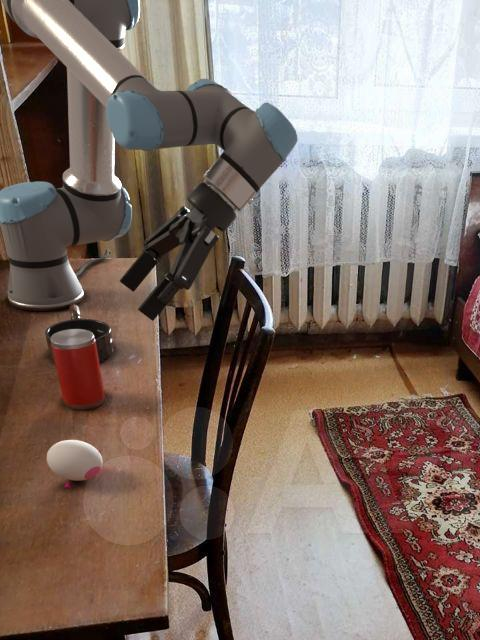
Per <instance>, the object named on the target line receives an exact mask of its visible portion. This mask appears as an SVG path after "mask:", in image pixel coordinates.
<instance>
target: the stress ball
mask: <svg viewBox="0 0 480 640" xmlns="http://www.w3.org/2000/svg"><path fill="white" fill-rule="evenodd" d="M100 452H101V450H98V449H97V448H96V447H94V446H93V445H92V444H90V443H88V442H86V441H82V440H80V439H79V440H78V439H65V440H61V441H57V442H56V443H54V444H53V445H52V446H51V447H50V448H49V449H48V450H47V453H46V462H47V465H48V468H50V469H51V470H50V471H52V472H53V473H54V474H56V475H57V476H59V477H61V478H63V479H65V480H68V481H67V482H66V484H65V485H64V486H63V487H64V488H68V489H69V488H70V489H72V487H71V485H70V481H79V482H80V481H87V480H90V479H92V478H93V477H96V476H97V475H98V474H99V473H100V472H101V470H102V468H103V465H104V464H103V463H104V462H103V461H104V460H103V457H102V455H101V453H100Z"/></svg>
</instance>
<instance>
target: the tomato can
mask: <svg viewBox="0 0 480 640" xmlns="http://www.w3.org/2000/svg"><path fill="white" fill-rule="evenodd" d="M51 347H52V351H53V356H54V361H53V362H54V364H55V369H56V374H57V378H58V382H59V387H60V392H61V397H62V400H63V403H64V405H65V406H66V407H67V408H69V409H71V410H76V411H77V410H79V411H85V410H91V409H94V408H97V407H99V406H101V405H102V404H104V402H105V400H106V396H105V394H106V393H105V388H104V382H103V376H102V371H101V370H102V369H101V366H100V365H101V364H100V362H99V359H98V353H97V347H96V342H95V339H94V335H93V333H92V332H90V331H87V330H83V329H69V330H63V331H60V332H57V333H55V334H53V335H52V336H51Z"/></svg>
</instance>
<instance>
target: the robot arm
mask: <svg viewBox="0 0 480 640" xmlns="http://www.w3.org/2000/svg"><path fill="white" fill-rule="evenodd" d="M0 2H1V3H2V6H3V8H4V10H5V11H6V13H7V14H8V15H9V18H11V19H12V21H13V22H14V23H15V24H16V25H17V27H19V28H20V29H21V30H22V31H23V32H24V33H25V34H27V36H30V37H32V38H35V39H39V40H40V41H41V42H42V43H43V44H44V45H45V46H46V47H47V49H49V50H50V51H51V52H52V54H54V55H55V57H56V58H57V59H58V60H59V61H60V62H61V63H62V64H63V65H64V66H65V67H66V76H67V78H66V80H67V106H68V107H67V111H68V112H67V113H68V114H67V115H68V141H69V142H68V143H69V144H68V146H69V167H68V168H67V169H66V170H65V171H64V172H63V173H62V186H61V187H57V188H56V187H55V185H53V184H52V183H50V182H48V181H42V180H41V181H40V180H39V181H37V180H36V181H26V182H19V183H15V184H12V185H9V186H7V187H4V188H3V189H0V229H1V234H2V237H3V241H4V246H5V249H6V254H7V258H8V262H9V274H8V275H9V276H8V283H7V284H8V285H7V298H8V301H9V304H10V305H11V306H12V307H14V308H16V309H19V310H24V311H31V312H51V311H57V310H64V309H67V308H70V306H71V305H78V304H79V303H81V302H82V301H83V300H84V298H85V295H84V290H83V287H82V284H81V282H79V280H78V277H79V276H80V275H81V274H83V272H84V270H85V269H86V268H87V267H89V266H91V265H94V264H97V263H100V262H103V261H105V260H106V259H108V257H109V254H110V255H111V254H112V251H111V250H110V249H109V248H107V249H105V253H104V255H103V256H101V257H98V258H95V259H92V260H89V261H87V262H85V263H84V264H82V265H81V266H80V268H79V269H78V270H77V271H76V272H75V271H74V270H73V268H72V266H71V264H70V261H69V257H68V251H67V248H69V247H75V246H81V245H86V244H92V243H98V242H110V241H112V240H114V239H118V238H122V237H123V236H124V235H126V234H127V232H128V231H129V229H130V227H131V224H132V219H133V208H132V205H131V204H130V201H131V199H130V196H129V193H128V191H127V190H126V188H125V187H124V186H123V185H122V182H121V180H120V179H119V178H118V177H117V176H116V175H115V142H116V143H117V145H119V146H120V147H121V148H123V149H125V150H128V151H144V152H150V151H154V150H162V149H170V148H180V147H182V148H183V147H192V146H194V147H195V146H205V145H206V146H207V145H215V146H218V147H219V148H220V149H221V150H222V151H223V152H222V153H221V154H220V155H219V156H218V157H217V158H216V159H215V160H214V161H213V163H212V164H211V166H209V168H208V169H207V170H206V171H205V172H204V174H203V179H204V181H198V182H197V183H196V185H195V186H194V187H193V188H192V189H191V191H190V192H189V193H188V195H187V196H186V201H187V202H188V203H189V204H190V205H191V206H192V208H191V209H188V208H187V207H186V206H184V205H182V206H180V208H179V209H178V210H177V212H176V213H175V214H174V215H173V216H172V217H170V218H169V219H168V220H167V221H165V222H164V224H162V225H161V226H160V227H159V228H157V229H156V230H155V231H154V232H153V233H151V234H150V235H149V236H148V237H147V238H146V239H145V240H144V241H143V244H144V248H143V251H142V252H141V254H139V256H138V257H137V258H136V260H135V261H134V262H133V263H132V264H131V266H130V267H129V268H128V269H127V270H126V272H125V273H124V274H123V276H122V277H120V279H119V282H120V283H121V284H122V285H124V286H125V287H126V288H128V289H129V290H130V291H132V293H134V292H135V291H136V290H137V289H138V287H139V286H140V285H141V284H142V283H143V281H144V280H145V279H146V278H147V277H148V275H149V274H150V273H151V272H152V270H153V269H154V268H155V267H156V266H157V264H158V263H161V262H162V257H163V256H164V255H166V254H168V253H169V252H172V251H173V250H174V249H175V248H177V247H179V249H178V251H177V254H176V256H175V258H174V262H173V264H172V267H171V269H170V271H168V272H165V273H164V274H163V277H162V279H161V280H160V281H159V282H158V284H157V285H156V286H155V287H154V289H153V290H152V291H151V292H150V293H149V294H148V296H147V297H146V298H145V300H144V301H142V303H141V304H140V306H139V307H138V308H137V310H138V311H139V312H140V313H141V314H142V315H144V316H145V317H147V318H148V319H149V320H151V322H154V321H155V319H156V318H157V317H158V316H159V315H160V314H161V312H162V311H163V310H164V309H165V307H166V306H167V305H168V304H169V303H170V302H171V300H172V299H173V298H174V297H175V296H176V294H177V293H178V292H179V291H180V290H183V289H185V290H186V291H189V290H190V289H191V287H192V286H193V284H194V282H195V280H196V278H197V277H198V275H199V273H200V271H201V270H202V267H203V266H204V263H205V261H206V259H207V258H208V256H209V254H210V253H211V250H212V249H213V248H214V246H215V245H216V243H217V242H219V239H220V236H219V235H218V234H216V232H215V231H214V229H215V228H216V229H217V230H218V231H219V232H221V233H224V232H226V231H227V230H228V229H229V227H230V226H231V225H232V224H233V223H234V221H235V220H236V219H237V216H238V215H237V213H236V212H242V211H243V210H244V209H245V208H246V207H247V205H248V204H249V205H251V204H252V203H253V198H254V197H255V196H256V195H257V193H258V192H259V191H260V190H261V188H262V187H263V186H264V185H265V184H266V182H267V181H268V180H269V179H270V178H271V176H273V174H274V173H275V172H276V171H277V170H278V169H279V167H280V166H281V165H283V164H284V163H285V162H286V161H287V158H288V156H289V155H290V153H292V151H293V150H294V148H295V147H296V145H297V144H298V142H299V133H298V131H297V129H296V128H295V126H294V125H293V123H292V122H291V120H289V118H288V117H287V116H286V115H285V114H284V113H283V112H282V111H281V110H280V109H279V108H278V107H277V106H275V105H274V104H272V103H270V102H263V103H262V104H261V105H260V106H259V107H258V108H256V109H255V110H254V109H251V108H250V107H249V106H248V105H247V104H246V103H244V102H243V101H242V100H240V99H239V98H238V97H237V96H236V95H234V94H233V93H232V92H231V91H230V90H229V89H228V88H226V87H224V86H223V85H221V84H219V83H217V82H216V81H214V80H213V79H210V78H199V79H197V81H195V82H194V83H191V84H190V85H189V86H188V87H187V89H186V90H160V89H158V88H157V87H156V86H155V85H154V84H153V83H152V82H151V81H150V80H149V79H147V77H146V76H145V75H144V74H143V73H142V72H141V71H140V70H139V69H138V68H137V67H136V66H135V65H134V64H133V63H132V62H131V61H130V60H129V59H128V58H127V57H126V56H125V55H124V54H123V53H122V52H121V50H122V49H123V48H124V47H125V44H126V42H125V41H126V31H130V30H132V29H134V28H136V26H137V24H138V23H139V19H140V15H141V14H140V13H141V5H140V3H141V2H140V0H0Z"/></svg>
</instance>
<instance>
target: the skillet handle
mask: <svg viewBox="0 0 480 640" xmlns="http://www.w3.org/2000/svg"><path fill="white" fill-rule="evenodd" d="M69 314H70V315H69V316H70V319H69V320H75V319H83V318H82V316H81V311H80V307H79V306H78V304H76V305H71V306H70V307H69Z"/></svg>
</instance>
